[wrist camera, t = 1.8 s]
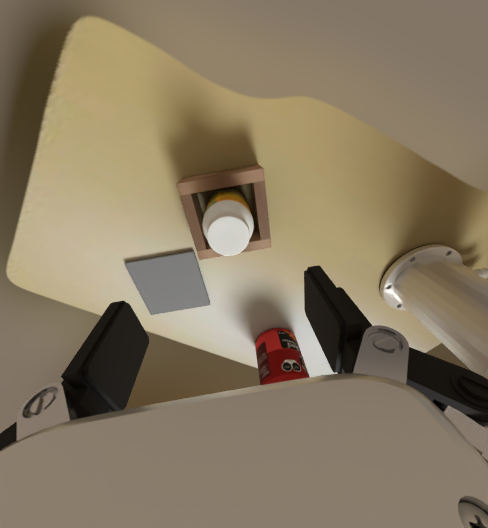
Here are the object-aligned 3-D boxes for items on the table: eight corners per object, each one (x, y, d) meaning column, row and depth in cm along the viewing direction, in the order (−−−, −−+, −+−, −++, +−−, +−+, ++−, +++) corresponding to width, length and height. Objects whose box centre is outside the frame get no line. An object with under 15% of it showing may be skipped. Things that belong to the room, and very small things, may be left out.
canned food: (301, 343, 42) (322, 402, 33) (265, 358, 44) (276, 418, 35) (285, 320, 39) (304, 378, 29) (247, 337, 40) (254, 397, 31)
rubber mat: (193, 250, 30) (193, 251, 30) (210, 302, 36) (210, 304, 35) (125, 262, 31) (124, 263, 30) (151, 312, 36) (150, 314, 35)
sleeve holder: (258, 164, 25) (263, 168, 22) (266, 235, 30) (271, 247, 27) (183, 178, 26) (176, 184, 22) (202, 246, 30) (199, 259, 27)
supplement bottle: (241, 232, 30) (246, 268, 21) (203, 222, 29) (193, 255, 20) (253, 194, 27) (265, 218, 19) (212, 181, 26) (206, 200, 18)
